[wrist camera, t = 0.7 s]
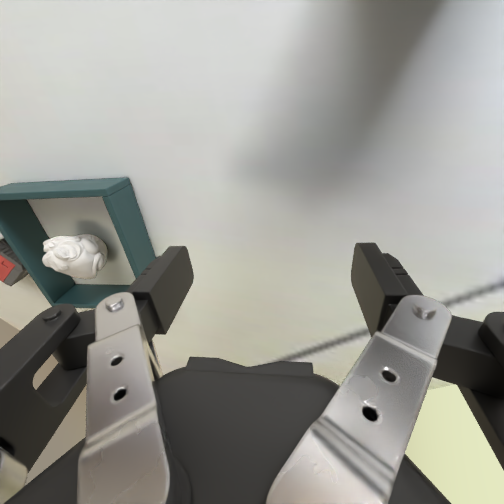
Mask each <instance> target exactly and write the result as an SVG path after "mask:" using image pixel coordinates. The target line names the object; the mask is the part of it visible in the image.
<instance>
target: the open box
mask: <svg viewBox="0 0 504 504" xmlns="http://www.w3.org/2000/svg"><path fill="white" fill-rule="evenodd" d="M99 196H103V197H102V198H103V200H104V203H105V205H106V207H107V210H108V212H109V215H110V217H111V220H112V222H113V224H114V227H115V229H116V232H117V234H118V237H119V239H120V241H121V244H122V246H123V249H124V251H125V253H126V256H127V258H128V261H129V263H130V266H131V268H132V270H133V273H134V275H135V278H136V279H137V278H138V276H139V275H141V273H142V272H143V271H144V270H145V268H146V267H147V266H148V265H149V264H150V262H152V261H153V260H155V259H156V257H155V254H154V251H153V248H152V245H151V242H150V239H149V236H148V233H147V230H146V227H145V225H144V222H143V219H142V216H141V213H140V210H139V207H138V204H137V201H136V198H135V195H134V192H133V189H132V186H131V184H130V180H129V178H108V179H88V180H68V181H48V182H28V183H11V184H7V185H4V186H1V187H0V232H1V234H2V235H3V237H4V238H5V240H6V241H7V243H8V244H9V245H10V247H11V248H12V250H13V251H14V253H15V254H16V256H17V257H18V258H19V260H20V261H21V263H22V264H23V266H24V267H25V268H26V270H27V271H28V273H29V274H30V276H31V277H32V279H33V280H34V281H35V283H36V284H37V286H38V287H39V289H40V290H41V292H42V293H43V294H44V296H45V297H46V299H47V300H48V302H49V303H50V304H51V306H52V307H53V306H56V305H59V304H66V303H67V304H72V305H73V306H74V307H75V308H96V306H97V305H98V304H99V303H100V302H101V301H102V300H104V299H105V298H107V297H109V296H111V295H113V294H116V293H121V292H126V290H127V289H128V288H129V287H130V286H131V285H82V284H75V282H74V281H73V279H72V277H71V276H70V275H67V274H63V273H61V272H58V271H55V270H54V269H53V268H52V267H46V266H45V265H44V264H43V261H42V259H43V256H44V255H45V254H46V253H47V252H44V245H43V242H44V241H46V240H49V238H48V236H47V235H46V233H45V231H44V229H43V228H42V226H41V224H40V223H39V221H38V219H37V217H36V216H35V214H34V212H33V211H32V209H31V207H30V206H29V204H28V202H27V200H26V199H47V198H73V197H99Z"/></svg>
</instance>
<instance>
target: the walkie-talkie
mask: <svg viewBox="0 0 504 504" xmlns="http://www.w3.org/2000/svg"><path fill="white" fill-rule="evenodd" d="M27 274H28V271H27V270H26V268H25V267H24V266H23V264H22V263H21V261H20V260H19V258H18V257H17V256H16V254H15V253H14V251H13V250H12V248H11V247H10V245H9V244H8V243H7V241H6V240H5V238H4V237H3V235H2V234H1V232H0V281H2V282H3V283H5V284H7V285H9V286H12V285H14V284H15V283H16V282H18V281H19V280H21V279H22V278H24V277H25V276H26V275H27Z"/></svg>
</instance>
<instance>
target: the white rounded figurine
mask: <svg viewBox="0 0 504 504" xmlns="http://www.w3.org/2000/svg"><path fill="white" fill-rule="evenodd" d="M43 245H44V252H47V253H46V254H45V255H44V256H43V259H42V261H43V264H44V265H45V266H46V267H52V268H53V269H54V270H55V271H58V272H61V273H63V274H67V275H70V276H72V277H76V278H82V279H92V278H95V277H96V276H97V271H100V270H101V269H102V268H103V267H104V265H105V264H106V258H107V247H106V245H105V243H104V242H103V241H102V240H101V239H100V238H98V237H96V236H94V235H91V234H80V235H76V236H55V237H53V238H51V239H49V240H46V241H44V242H43Z"/></svg>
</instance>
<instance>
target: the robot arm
mask: <svg viewBox="0 0 504 504" xmlns="http://www.w3.org/2000/svg"><path fill="white" fill-rule="evenodd" d="M193 278H194V275H193V269H192V265H191V261H190V258H189V254H188V250H187V248H186V247H185V246H170V247H168V249H167V250H166V251H165V252H164V253H163V255H162V256H159V257H158V258H156V259H155V260H153V261H152V262H150V264H149V265H148V266H147V267H146V268H145V270H144V271H143V272H142V273H141V275H139V276H138V278H137V279H136V280H135V281H134V282H133V283H132V285H131V286H130V287H129V288H128V289H127V290H126V292H121V293H116V294H113V295H111V296H109V297H107V298H105V299H104V300H102V301H101V302H100V303H99V304H98V305H97V306H96V308H95V309H94V310H89V311H84V312H80V313H78V312H77V310H76V309H75V307H74V306H73V305H72V304H67V303H66V304H59V305H56V306H53V307H51V308H49V309H47V310H45V311H43V312H42V313H40V314H39V315H38V316H36V317H35V318H34V319H33V320H32V321H31V322H30V323H29V324H28V325H26V326H25V327H24V328H23V329H22V330H21V331H20V332H19V333H18V334H17V335H15V336H14V337H13V338H12V339H11V340H10V341H9V342H8V343H7V344H5V345H4V346H3V347H2V348H1V349H0V504H451V503H450V502H449V501H448V500H447V499H446V497H445V496H444V495H443V494H442V493H441V492H440V491H439V490H438V489H437V488H436V487H435V486H434V485H433V484H432V482H431V481H430V480H429V479H428V478H427V477H426V476H425V475H424V474H423V473H422V472H421V470H420V469H419V468H418V467H417V466H416V465H415V464H414V463H413V462H412V461H411V460H410V459H409V458H408V456H407V455H406V454H405V450H406V448H407V445H408V442H409V439H410V437H411V433H412V431H413V428H414V425H415V423H416V420H417V417H418V414H419V412H420V409H421V406H422V403H423V401H424V398H425V395H426V392H427V389H428V387H429V384H430V381H431V378H432V377H434V378H437V379H440V380H443V381H446V382H450V383H453V384H456V385H458V387H459V389H460V391H461V393H462V394H463V396H464V398H465V400H466V402H467V404H468V405H469V408H470V409H471V411H472V413H473V415H474V417H475V419H476V420H477V422H478V424H479V426H480V428H481V430H482V431H483V433H484V435H485V437H486V439H487V441H488V442H489V444H490V446H491V448H492V450H493V451H494V453H495V455H496V457H497V459H498V461H499V463H500V464H501V466H502V468H503V470H504V312H493V313H490V314H488V315H487V316H486V318H485V320H484V321H483V322H479V321H475V320H470V319H466V318H461V317H457V316H453V315H451V312H450V311H449V309H448V308H447V307H446V306H445V305H443V304H442V303H440V302H439V301H437V300H435V299H432V298H430V297H427V296H424V295H423V294H422V293H421V291H420V290H419V288H418V287H417V286H416V284H415V283H414V282H413V280H412V279H411V277H410V276H409V275H408V273H407V272H406V270H405V269H403V266H402V265H401V264H400V262H399V261H398V260H397V259H396V258H394V257H393V256H391V255H390V254H388V253H381V251H380V249H379V248H378V246H377V245H376V243H356V245H355V248H354V255H353V262H352V270H351V282H352V286H353V288H354V291H355V294H356V297H357V299H358V302H359V305H360V307H361V310H362V313H363V316H364V318H365V321H366V324H367V326H368V329H369V332H370V335H371V337H372V338H371V339H370V341H369V342H368V344H367V346H366V347H365V349H364V350H363V352H362V353H361V355H360V356H359V358H358V359H357V361H356V362H355V364H354V366H353V367H352V369H351V370H350V372H349V373H348V375H347V376H346V378H345V379H344V381H343V383H342V384H341V386H339V385H337V384H336V383H334V382H333V381H331V380H329V379H327V378H325V377H323V376H320V375H318V374H314V373H313V365H312V363H307V362H286V361H279V362H274V363H268V364H263V365H258V366H252V367H245V366H242V365H239V364H235V363H232V362H229V361H226V360H223V359H219V358H206V357H190V358H189V360H188V363H187V365H186V367H183V368H180V369H176V370H174V371H172V372H169V373H167V374H165V375H164V376H163V373H162V369H161V366H160V362H159V359H158V355H157V352H156V348H155V345H154V342H153V340H152V338H153V337H154V335H155V334H165V335H166V333H167V331H168V329H169V327H170V325H171V324H172V322H173V320H174V318H175V316H176V314H177V312H178V310H179V308H180V306H181V304H182V303H183V301H184V299H185V297H186V295H187V293H188V291H189V289H190V287H191V285H192V283H193ZM51 354H52V355H53V356H54V357H55V358H56V360H57V361H58V362H59V363H58V364H57V365H56V367H55V368H54V369H53V370H52V372H51V373H50V374H49V375H48V376H47V378H46V379H45V380H44V381H43V382H42V384H41V385H40V386H39V387H38V389H37V390H35V389H34V387H33V383H32V382H33V377H34V374H35V373H36V372H37V370H38V369H39V368H40V367H41V366H42V365H43V364H44V362H45V361H46V360H47V359H48V358H49V357H50V356H51ZM86 384H87V395H86V396H87V397H86V437H85V438H84V439H82V440H81V441H80V442H79V443H78V444H76V445H75V446H74V447H73V448H71V449H70V450H69V451H68V452H66V453H65V454H64V455H63V456H61V457H60V458H59V459H58V460H56V461H55V462H54V463H53V464H52V465H50V466H49V467H48V468H47V469H45V470H44V471H43V472H42V473H40V474H39V475H38V476H37V477H36V478H34V479H33V480H32V481H31V482H30V483H28V484H27V485H26V486H25V483H26V479H27V474H28V473H29V471H30V470H31V468H32V467H33V465H34V463H35V462H36V460H37V459H38V457H39V456H40V454H41V453H42V451H43V450H44V448H45V447H46V445H47V443H48V442H49V441H50V439H51V437H52V436H53V434H54V433H55V431H56V430H57V428H58V427H59V425H60V424H61V422H62V421H63V419H64V417H65V416H66V415H67V413H68V412H69V410H70V409H71V407H72V406H73V404H74V402H75V401H76V399H77V398H78V396H79V395H80V393H81V392H82V390H83V388H84V387H85V386H86Z"/></svg>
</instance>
